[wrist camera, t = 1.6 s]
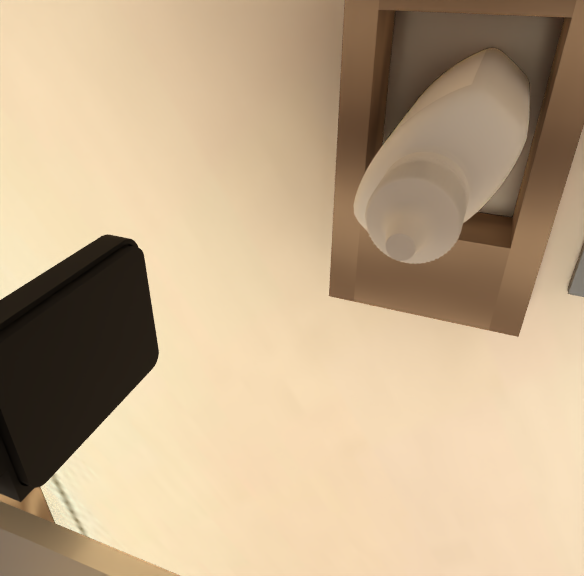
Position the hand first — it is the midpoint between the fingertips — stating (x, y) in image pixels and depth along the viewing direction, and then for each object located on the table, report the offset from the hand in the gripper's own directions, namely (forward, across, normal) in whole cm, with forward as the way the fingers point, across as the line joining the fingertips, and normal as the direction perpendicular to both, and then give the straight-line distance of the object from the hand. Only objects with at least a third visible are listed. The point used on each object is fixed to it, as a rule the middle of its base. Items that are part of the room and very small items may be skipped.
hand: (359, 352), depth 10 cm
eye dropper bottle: (+16, 0, -1) cm, 16 cm away
